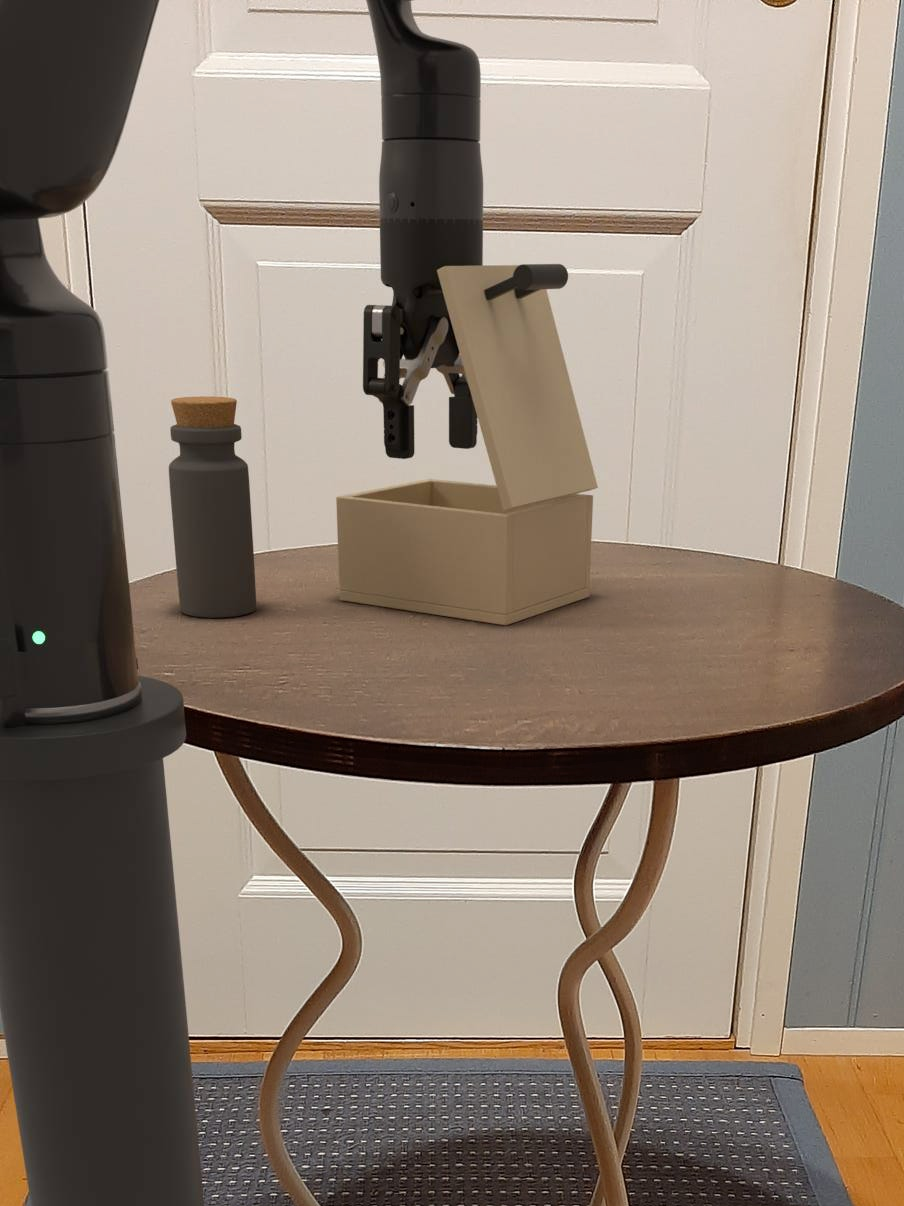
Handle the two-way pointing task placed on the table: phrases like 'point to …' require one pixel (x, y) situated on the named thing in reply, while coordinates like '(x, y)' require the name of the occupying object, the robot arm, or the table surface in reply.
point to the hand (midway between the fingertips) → (432, 452)
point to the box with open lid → (463, 551)
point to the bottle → (211, 510)
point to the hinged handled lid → (519, 379)
